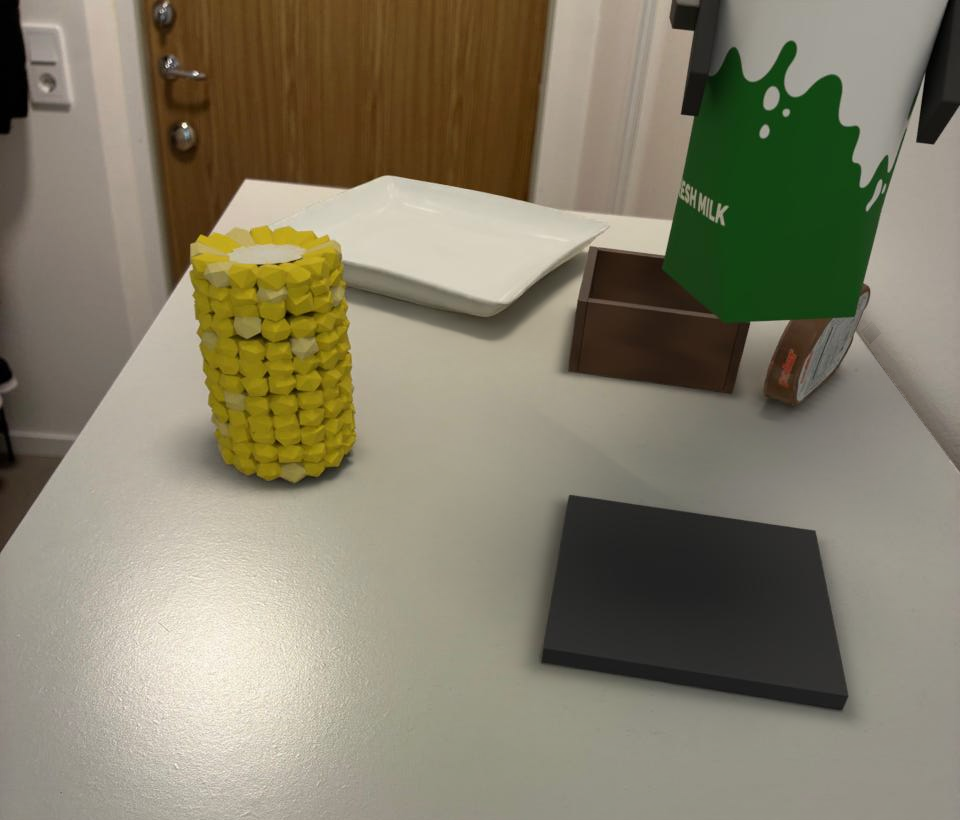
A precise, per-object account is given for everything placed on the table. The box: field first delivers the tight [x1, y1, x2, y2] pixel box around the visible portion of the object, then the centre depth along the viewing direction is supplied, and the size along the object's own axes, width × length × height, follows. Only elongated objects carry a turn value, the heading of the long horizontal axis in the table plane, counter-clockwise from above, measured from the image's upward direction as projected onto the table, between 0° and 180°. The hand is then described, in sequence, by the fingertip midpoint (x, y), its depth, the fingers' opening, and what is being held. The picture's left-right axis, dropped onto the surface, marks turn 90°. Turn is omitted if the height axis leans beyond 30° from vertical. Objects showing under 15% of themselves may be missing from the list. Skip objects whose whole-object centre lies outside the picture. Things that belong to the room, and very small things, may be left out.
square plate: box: [267, 174, 611, 318], centre depth 97 cm, size 27×27×4 cm
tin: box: [763, 283, 872, 407], centre depth 80 cm, size 15×3×8 cm, turn 145°
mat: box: [541, 494, 849, 710], centre depth 58 cm, size 16×16×1 cm
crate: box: [567, 245, 751, 394], centre depth 84 cm, size 14×14×6 cm
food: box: [188, 224, 357, 485], centre depth 63 cm, size 15×12×10 cm
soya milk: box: [662, 0, 949, 323], centre depth 42 cm, size 9×9×20 cm
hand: (814, 109), depth 41 cm, fingers closed on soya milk, 9 cm apart
